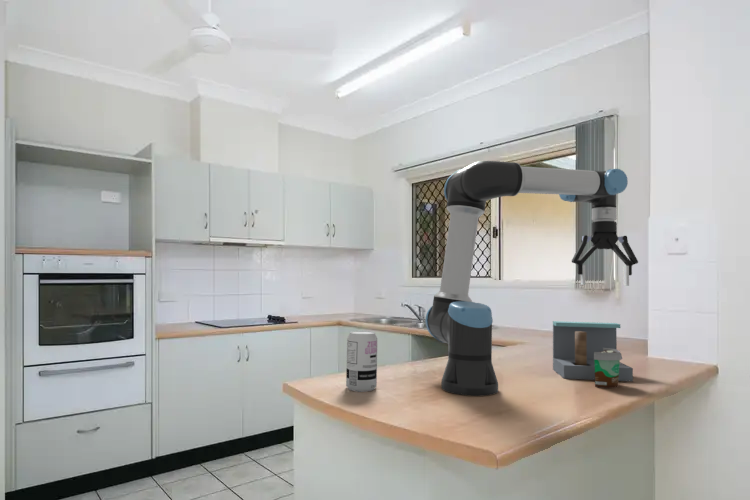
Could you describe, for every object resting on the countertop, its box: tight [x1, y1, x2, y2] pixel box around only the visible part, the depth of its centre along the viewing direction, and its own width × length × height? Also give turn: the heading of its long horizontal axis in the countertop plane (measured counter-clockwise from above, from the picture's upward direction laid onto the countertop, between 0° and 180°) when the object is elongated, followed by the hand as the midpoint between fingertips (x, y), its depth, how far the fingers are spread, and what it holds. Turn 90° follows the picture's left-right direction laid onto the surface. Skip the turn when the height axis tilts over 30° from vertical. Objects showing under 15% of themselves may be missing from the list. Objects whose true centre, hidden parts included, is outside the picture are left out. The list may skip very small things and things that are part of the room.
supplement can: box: [345, 330, 378, 393], centre depth 130 cm, size 8×8×15 cm
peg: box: [575, 331, 587, 366], centre depth 151 cm, size 3×3×14 cm
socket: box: [552, 320, 634, 382], centre depth 154 cm, size 20×14×16 cm
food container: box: [594, 348, 623, 389], centre depth 139 cm, size 12×6×10 cm, turn 143°
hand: (604, 285), depth 159 cm, fingers open, 13 cm apart
